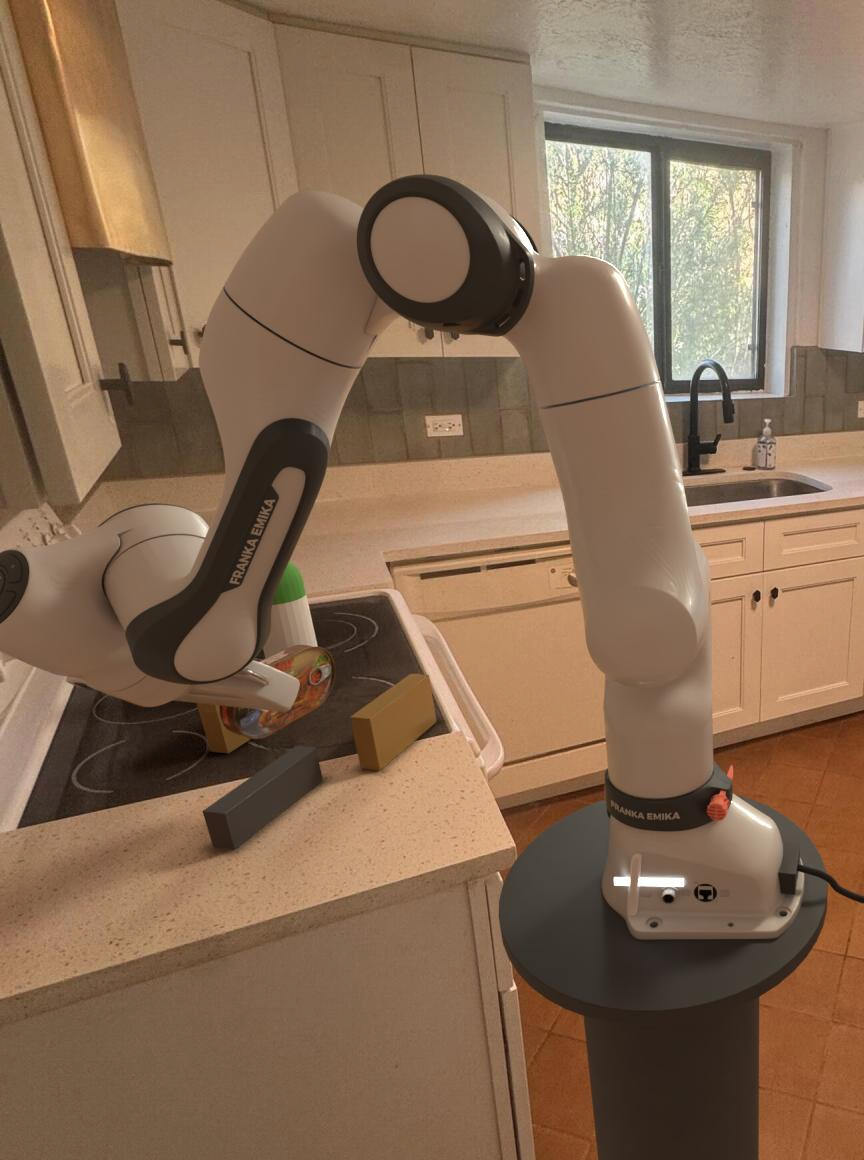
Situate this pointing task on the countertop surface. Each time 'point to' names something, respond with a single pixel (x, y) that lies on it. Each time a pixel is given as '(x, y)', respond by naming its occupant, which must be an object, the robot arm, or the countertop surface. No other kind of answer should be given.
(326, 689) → the tin
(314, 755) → the grey rectangular block
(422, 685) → the khaki rectangular brick
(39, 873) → the countertop surface
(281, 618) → the wine bottle
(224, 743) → the tan cardboard-coloured block
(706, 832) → the robot arm
